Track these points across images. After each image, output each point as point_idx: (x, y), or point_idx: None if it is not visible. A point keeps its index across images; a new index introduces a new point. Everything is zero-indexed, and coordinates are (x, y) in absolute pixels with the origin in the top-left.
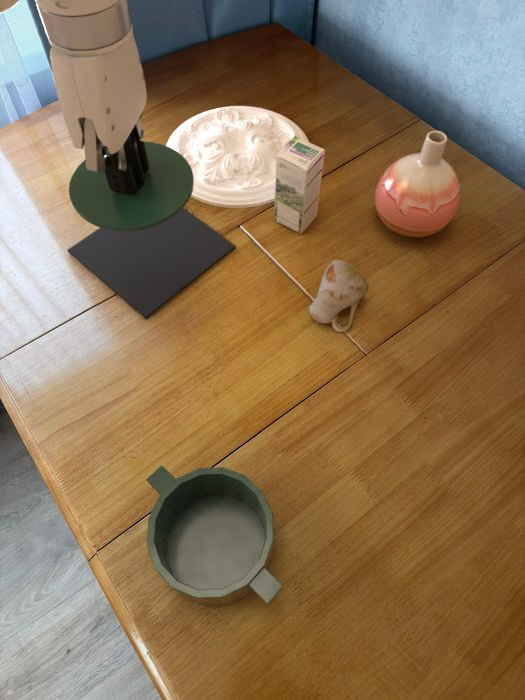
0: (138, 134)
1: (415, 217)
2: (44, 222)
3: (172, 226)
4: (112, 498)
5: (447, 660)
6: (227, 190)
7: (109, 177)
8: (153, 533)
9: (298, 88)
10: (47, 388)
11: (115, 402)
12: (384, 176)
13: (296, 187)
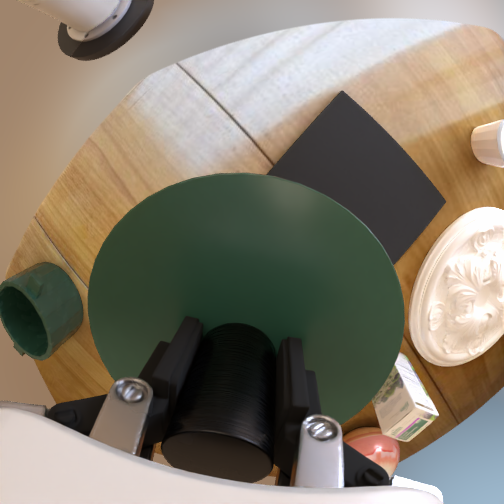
0: (276, 479)
1: None
2: (385, 58)
3: (387, 228)
4: (60, 218)
5: (59, 396)
6: (430, 295)
7: (145, 366)
8: (7, 285)
9: None
10: (139, 120)
11: (129, 198)
12: (382, 453)
13: (383, 405)
